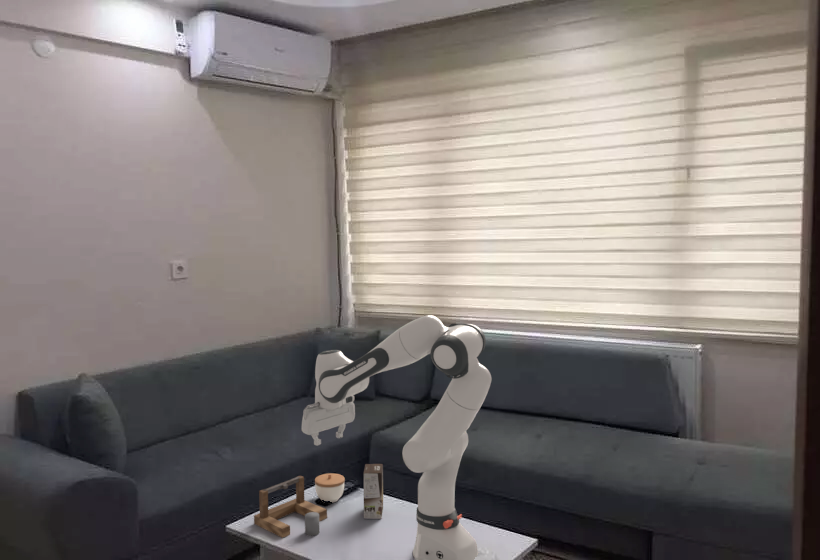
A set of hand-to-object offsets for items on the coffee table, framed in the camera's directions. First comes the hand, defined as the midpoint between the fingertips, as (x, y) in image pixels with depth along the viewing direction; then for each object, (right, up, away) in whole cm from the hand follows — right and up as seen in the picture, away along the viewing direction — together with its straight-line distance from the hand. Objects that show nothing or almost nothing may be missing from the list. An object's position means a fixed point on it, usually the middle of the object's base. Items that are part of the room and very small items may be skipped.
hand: (328, 441), depth 223 cm
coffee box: (+14, -29, +15) cm, 35 cm away
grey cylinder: (-5, -30, 0) cm, 30 cm away
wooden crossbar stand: (-14, -29, +9) cm, 33 cm away
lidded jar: (-3, -28, +26) cm, 38 cm away
